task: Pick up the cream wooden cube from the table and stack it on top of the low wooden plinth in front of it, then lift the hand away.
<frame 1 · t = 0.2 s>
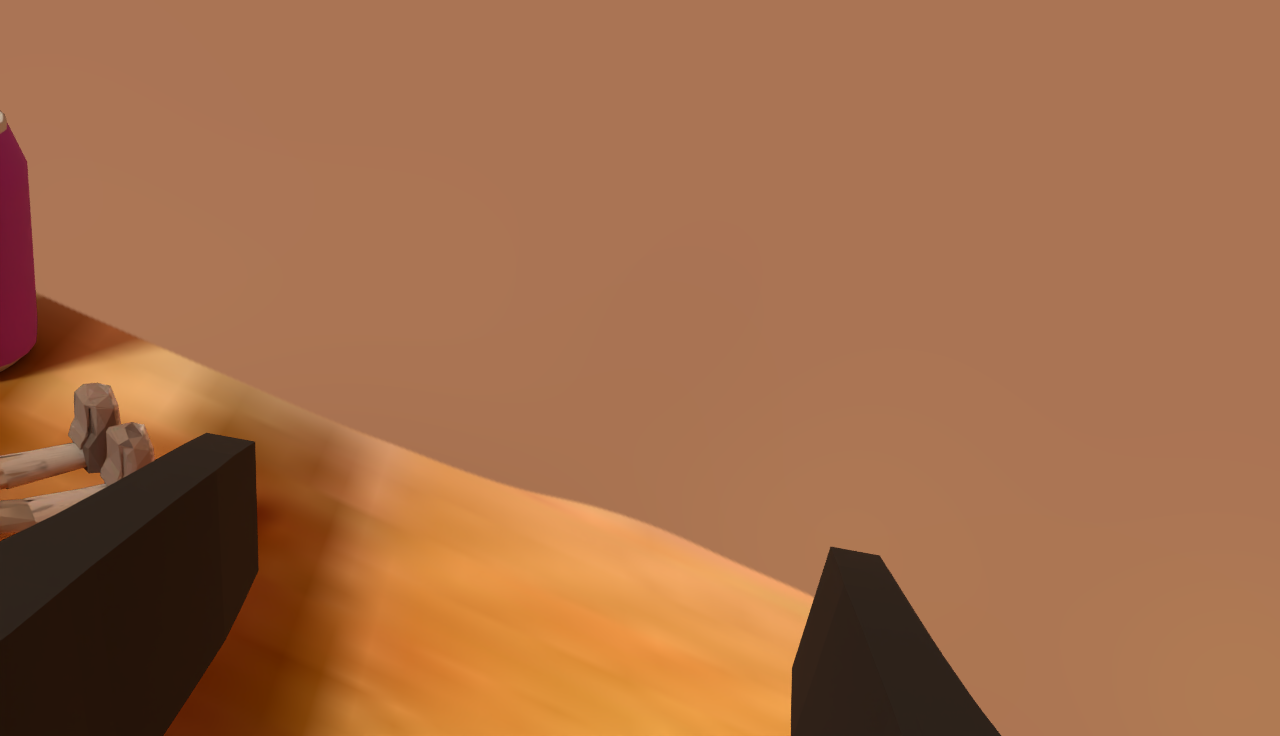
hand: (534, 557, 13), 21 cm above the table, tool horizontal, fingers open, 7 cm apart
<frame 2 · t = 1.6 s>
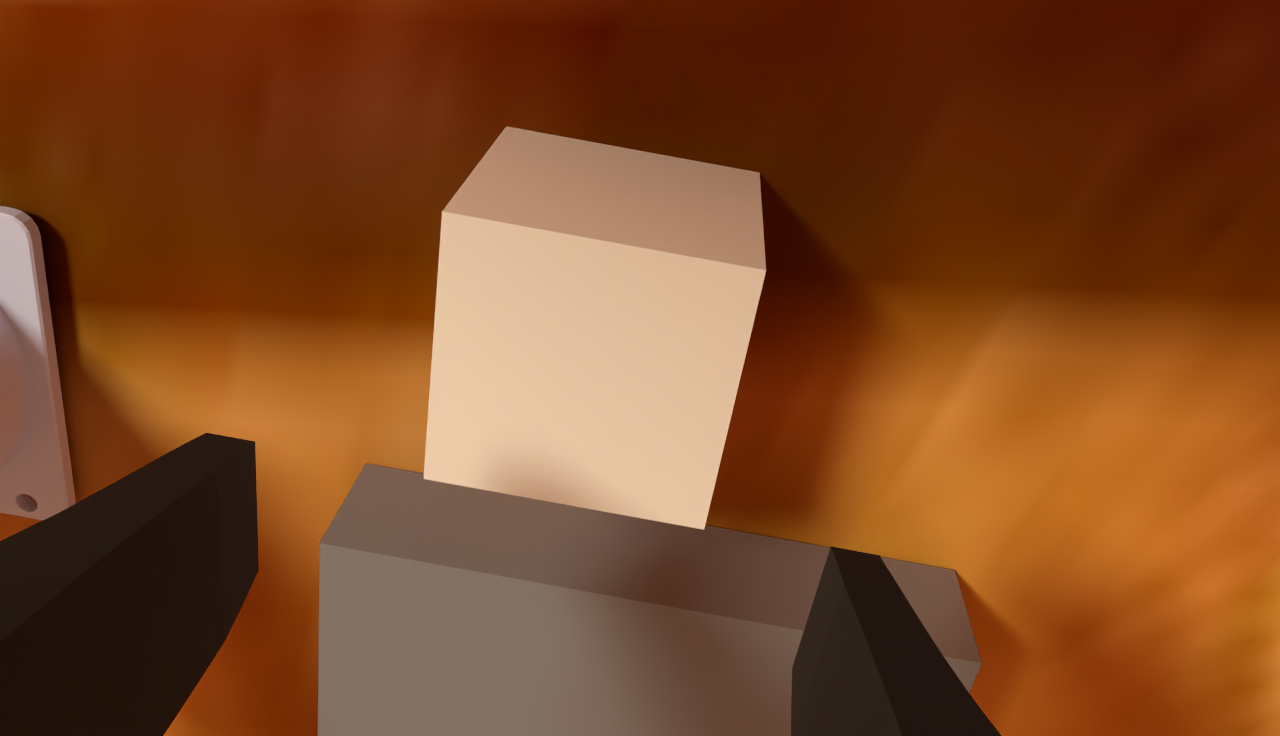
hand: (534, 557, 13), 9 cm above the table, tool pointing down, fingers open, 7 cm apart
cube: (614, 265, 21), on the table
plinth: (622, 698, 27), on the table
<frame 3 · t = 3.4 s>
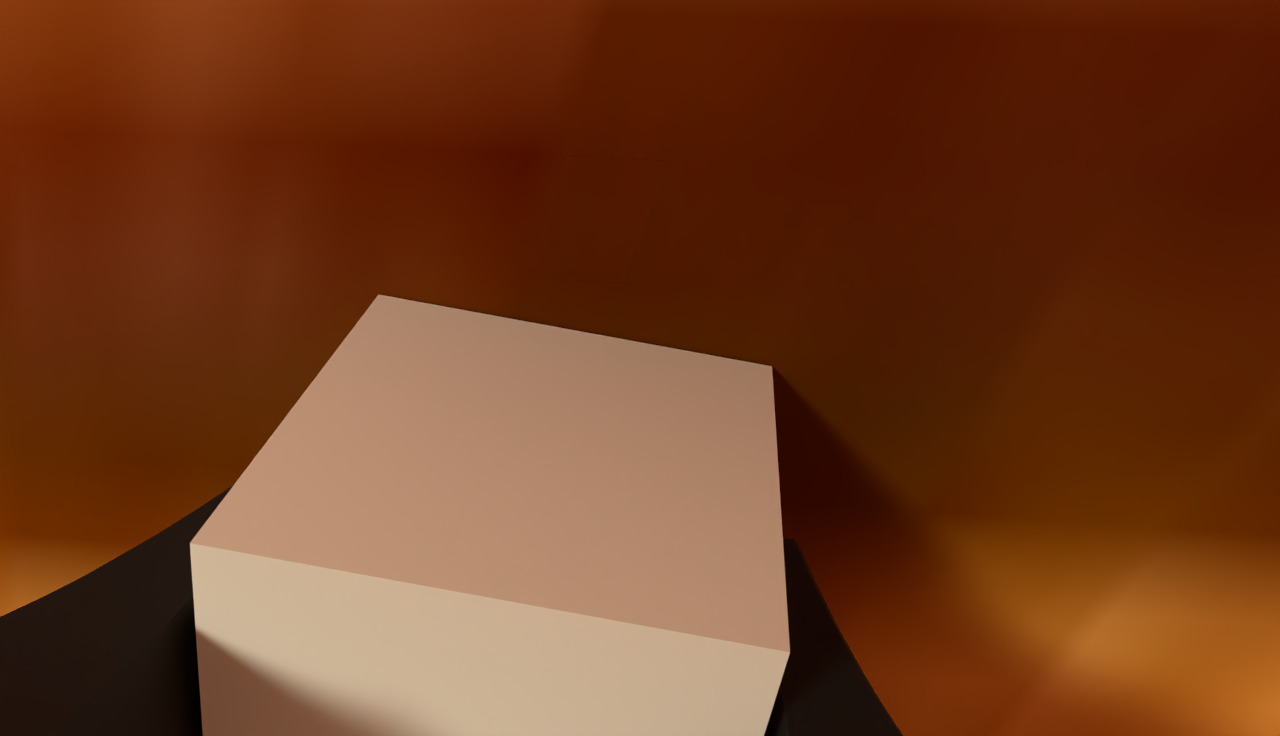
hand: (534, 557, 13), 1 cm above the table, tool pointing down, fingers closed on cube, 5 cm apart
cube: (551, 491, 14), on the table, touching gripper
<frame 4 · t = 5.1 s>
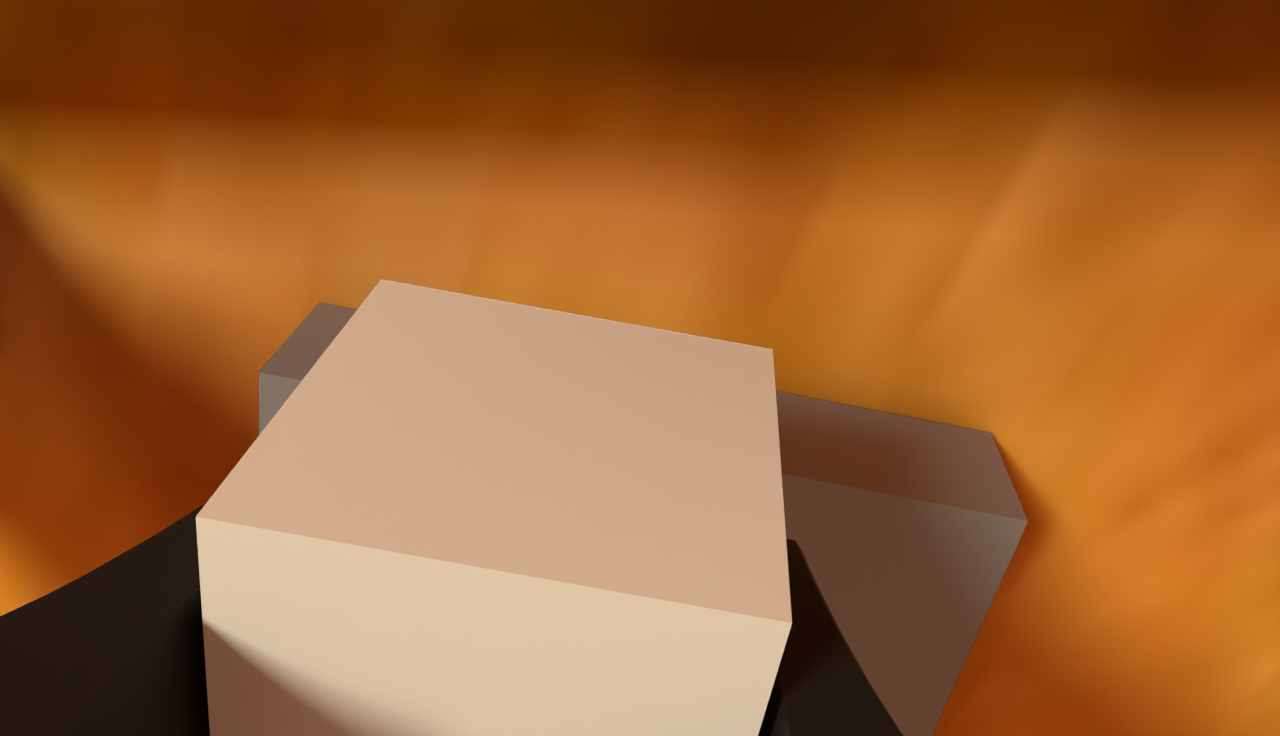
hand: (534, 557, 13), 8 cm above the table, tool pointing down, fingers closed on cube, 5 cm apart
cube: (554, 476, 14), point 7 cm above the table, touching gripper
plinth: (610, 590, 24), on the table
when the fingers open (5 cm above the table, at t = 7.1 s): cube stays where it is, resting on plinth.
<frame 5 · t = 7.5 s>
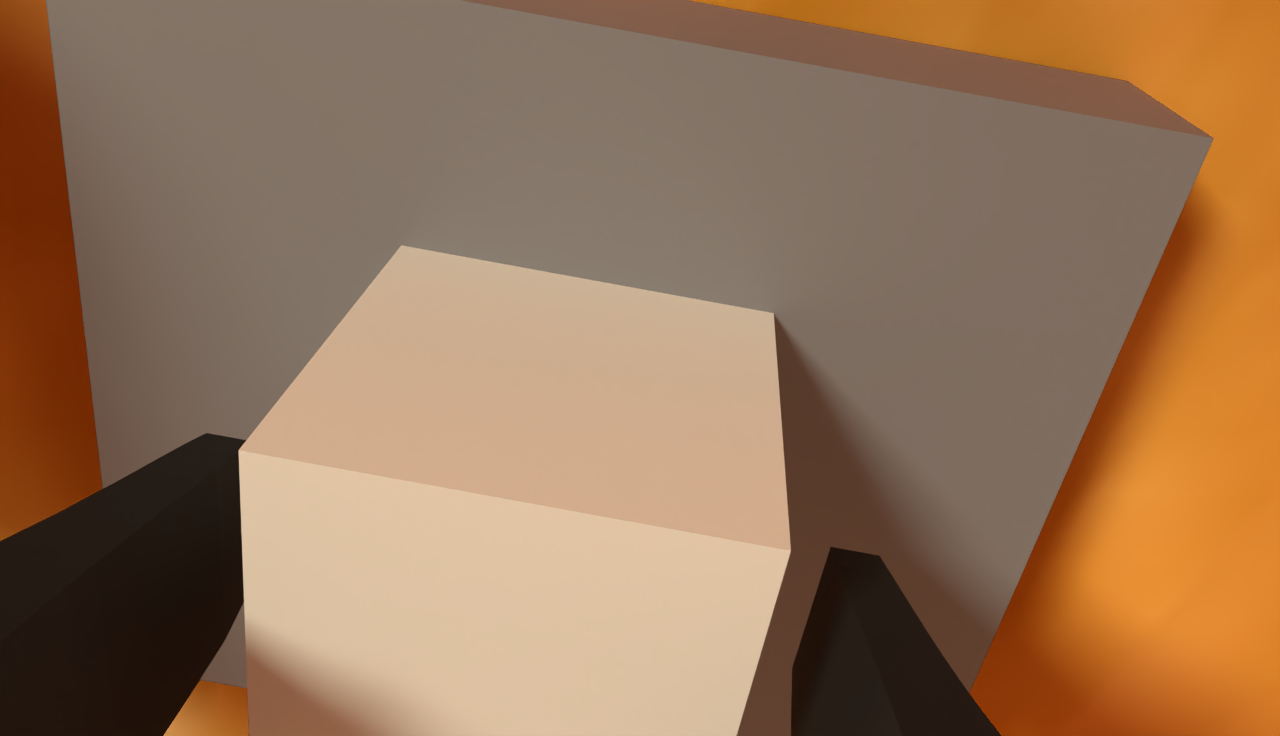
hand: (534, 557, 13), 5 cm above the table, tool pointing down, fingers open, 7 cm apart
cube: (564, 436, 15), point 3 cm above the table, touching plinth
plinth: (589, 357, 17), on the table
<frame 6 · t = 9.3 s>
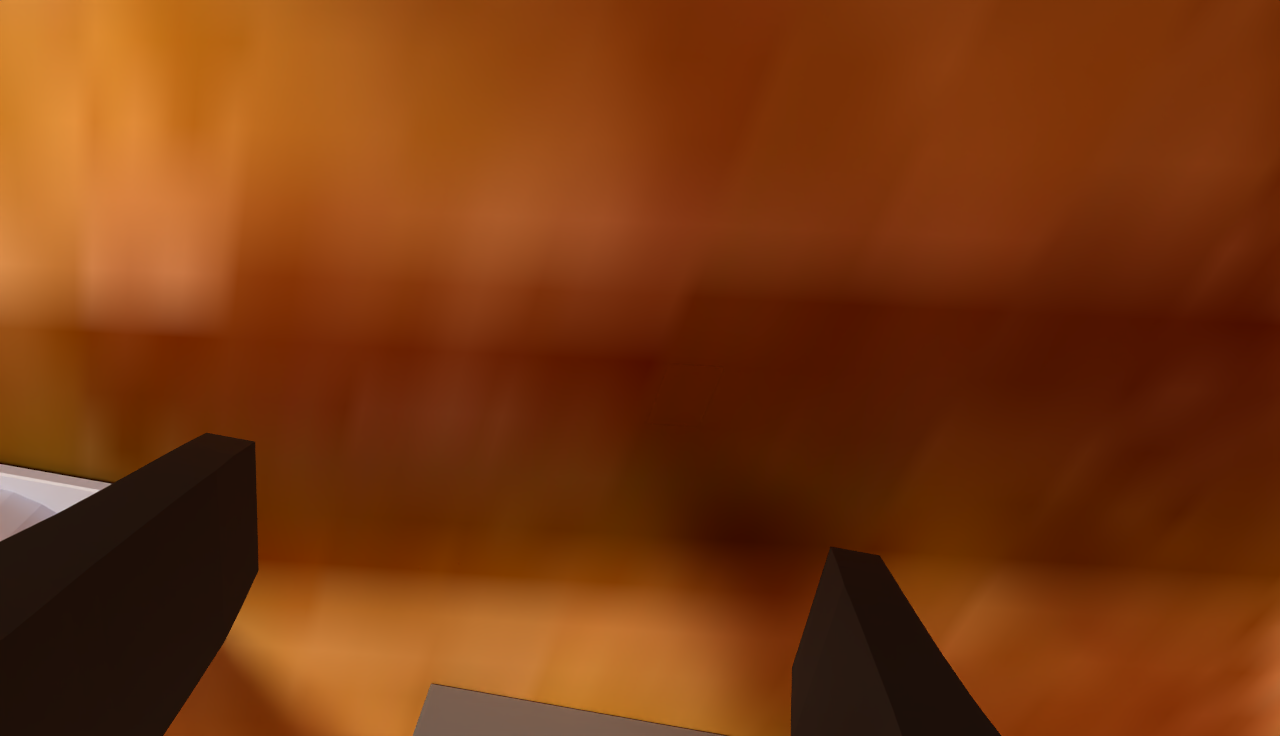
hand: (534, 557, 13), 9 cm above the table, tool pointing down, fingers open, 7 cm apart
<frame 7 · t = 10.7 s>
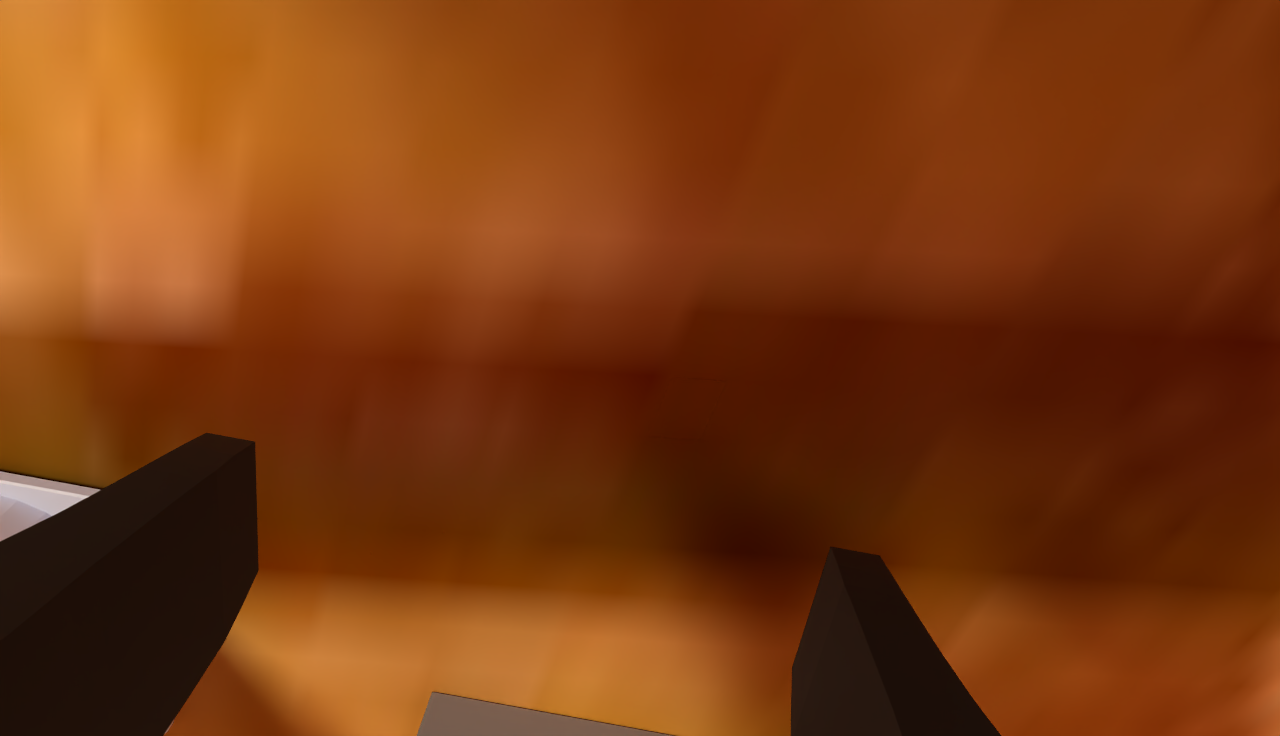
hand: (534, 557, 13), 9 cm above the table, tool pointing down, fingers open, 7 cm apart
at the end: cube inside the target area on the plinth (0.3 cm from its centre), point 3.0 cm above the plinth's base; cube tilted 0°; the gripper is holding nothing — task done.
